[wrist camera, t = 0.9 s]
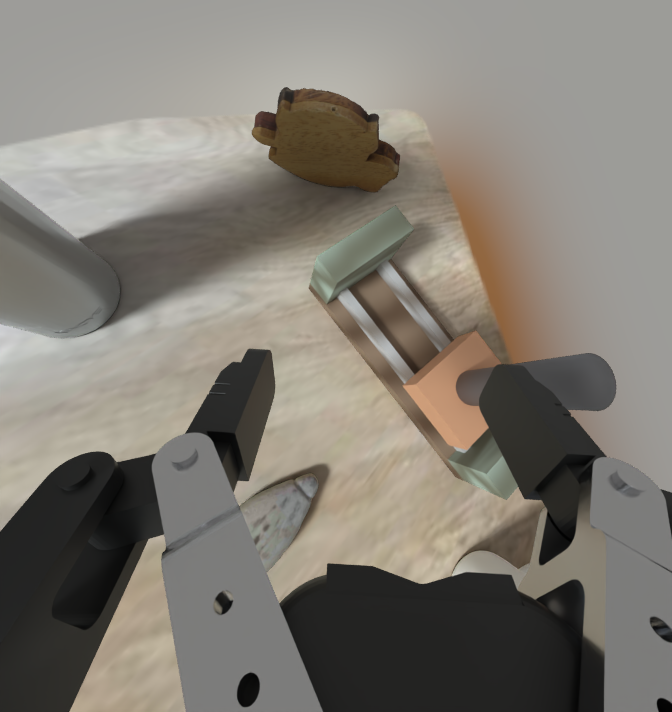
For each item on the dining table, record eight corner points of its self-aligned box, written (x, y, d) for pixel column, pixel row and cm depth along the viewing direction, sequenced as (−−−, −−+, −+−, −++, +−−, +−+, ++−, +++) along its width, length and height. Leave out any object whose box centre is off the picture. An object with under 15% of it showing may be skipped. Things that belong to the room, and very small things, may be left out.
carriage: (402, 385, 29) (507, 375, 16) (457, 336, 31) (592, 290, 18) (448, 445, 29) (593, 485, 16) (500, 391, 31) (667, 387, 18)
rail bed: (308, 288, 32) (316, 256, 25) (371, 245, 35) (395, 205, 27) (455, 476, 32) (506, 500, 25) (507, 421, 35) (567, 427, 27)
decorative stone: (331, 493, 30) (338, 505, 26) (210, 619, 26) (200, 651, 22) (294, 450, 29) (296, 457, 26) (167, 570, 26) (150, 595, 22)
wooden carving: (384, 173, 37) (422, 92, 27) (385, 204, 36) (423, 132, 26) (257, 149, 34) (247, 48, 24) (254, 183, 33) (243, 93, 23)
